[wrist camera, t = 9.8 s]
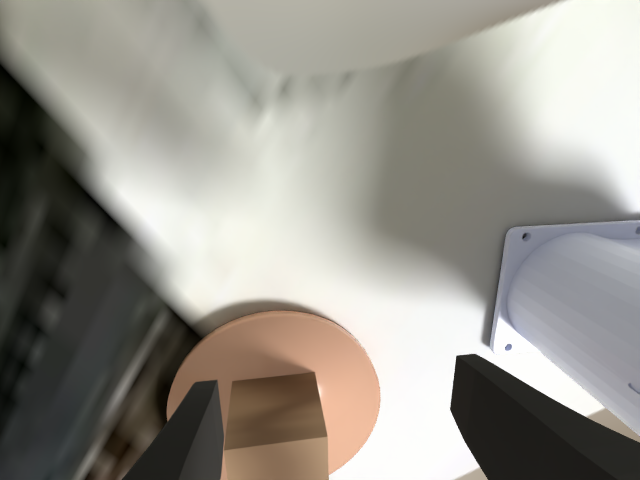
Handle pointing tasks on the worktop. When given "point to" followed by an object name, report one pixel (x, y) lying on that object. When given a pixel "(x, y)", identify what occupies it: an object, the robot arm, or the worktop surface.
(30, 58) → the worktop surface
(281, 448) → the walnut block
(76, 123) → the worktop surface
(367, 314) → the worktop surface
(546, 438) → the robot arm
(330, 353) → the terracotta dish
